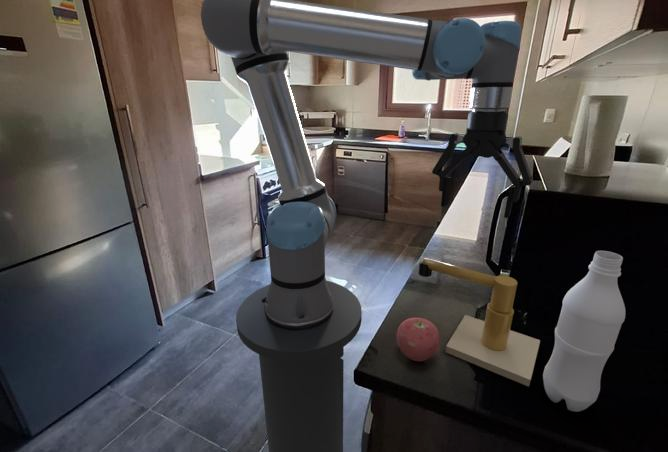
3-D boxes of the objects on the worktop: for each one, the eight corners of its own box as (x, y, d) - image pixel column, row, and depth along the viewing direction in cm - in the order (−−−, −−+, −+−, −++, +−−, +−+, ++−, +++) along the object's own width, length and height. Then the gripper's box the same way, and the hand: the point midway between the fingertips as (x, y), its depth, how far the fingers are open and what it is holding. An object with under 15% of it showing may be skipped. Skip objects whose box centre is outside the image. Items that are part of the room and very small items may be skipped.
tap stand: (445, 352, 64) (450, 310, 61) (464, 320, 73) (470, 283, 70) (529, 387, 56) (540, 341, 53) (538, 346, 65) (549, 305, 62)
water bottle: (537, 374, 59) (572, 241, 50) (588, 388, 56) (634, 249, 47) (541, 406, 53) (581, 261, 44) (597, 424, 50) (653, 272, 41)
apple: (446, 361, 62) (451, 324, 59) (414, 376, 58) (418, 338, 56) (418, 337, 68) (421, 303, 65) (388, 350, 65) (390, 314, 62)
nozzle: (513, 305, 62) (519, 278, 60) (509, 315, 59) (515, 287, 57) (421, 277, 71) (423, 253, 69) (414, 284, 69) (416, 260, 67)
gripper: (562, 110, 65) (540, 216, 72) (435, 109, 79) (427, 197, 86) (558, 112, 59) (534, 226, 66) (422, 110, 73) (415, 204, 81)
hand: (474, 210), depth 76 cm, fingers open, 13 cm apart
